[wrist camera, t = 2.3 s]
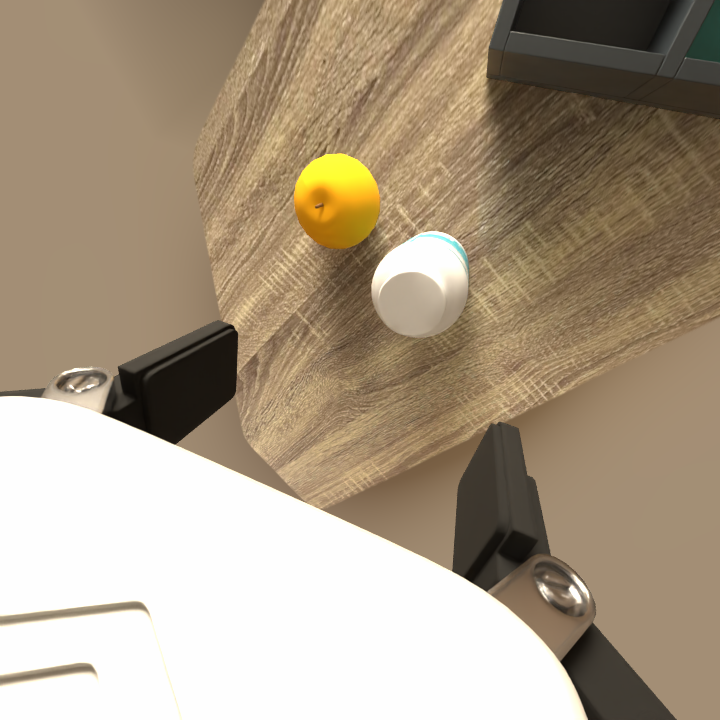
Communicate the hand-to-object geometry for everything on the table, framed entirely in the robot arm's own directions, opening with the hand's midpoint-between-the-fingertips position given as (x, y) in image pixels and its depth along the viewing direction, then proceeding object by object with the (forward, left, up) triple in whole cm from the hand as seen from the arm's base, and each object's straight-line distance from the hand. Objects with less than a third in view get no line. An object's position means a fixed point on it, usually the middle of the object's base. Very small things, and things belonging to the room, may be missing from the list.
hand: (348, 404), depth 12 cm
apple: (+10, -4, -26) cm, 28 cm away
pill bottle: (0, 0, -26) cm, 26 cm away
